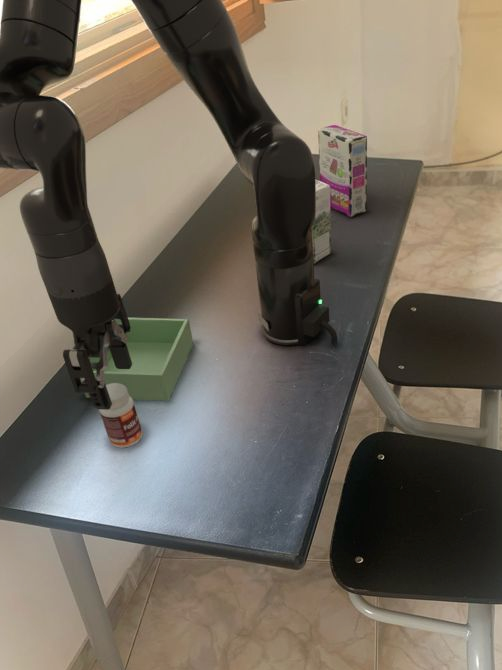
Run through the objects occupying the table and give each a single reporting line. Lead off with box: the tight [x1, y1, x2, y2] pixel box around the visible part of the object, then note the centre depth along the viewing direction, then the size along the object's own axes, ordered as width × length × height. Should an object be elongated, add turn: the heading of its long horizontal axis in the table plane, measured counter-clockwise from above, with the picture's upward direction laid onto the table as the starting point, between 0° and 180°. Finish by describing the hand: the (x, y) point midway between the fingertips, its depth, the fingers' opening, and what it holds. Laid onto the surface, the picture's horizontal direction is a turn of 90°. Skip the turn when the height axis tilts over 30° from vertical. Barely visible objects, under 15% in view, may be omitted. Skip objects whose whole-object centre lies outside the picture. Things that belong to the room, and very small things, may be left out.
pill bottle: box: [98, 383, 144, 449], centre depth 92 cm, size 5×5×8 cm
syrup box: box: [312, 179, 332, 265], centre depth 128 cm, size 6×6×14 cm
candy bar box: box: [317, 124, 368, 218], centre depth 144 cm, size 11×5×16 cm, turn 37°
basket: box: [80, 317, 194, 402], centre depth 105 cm, size 13×15×5 cm
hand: (114, 386), depth 88 cm, fingers open, 8 cm apart
